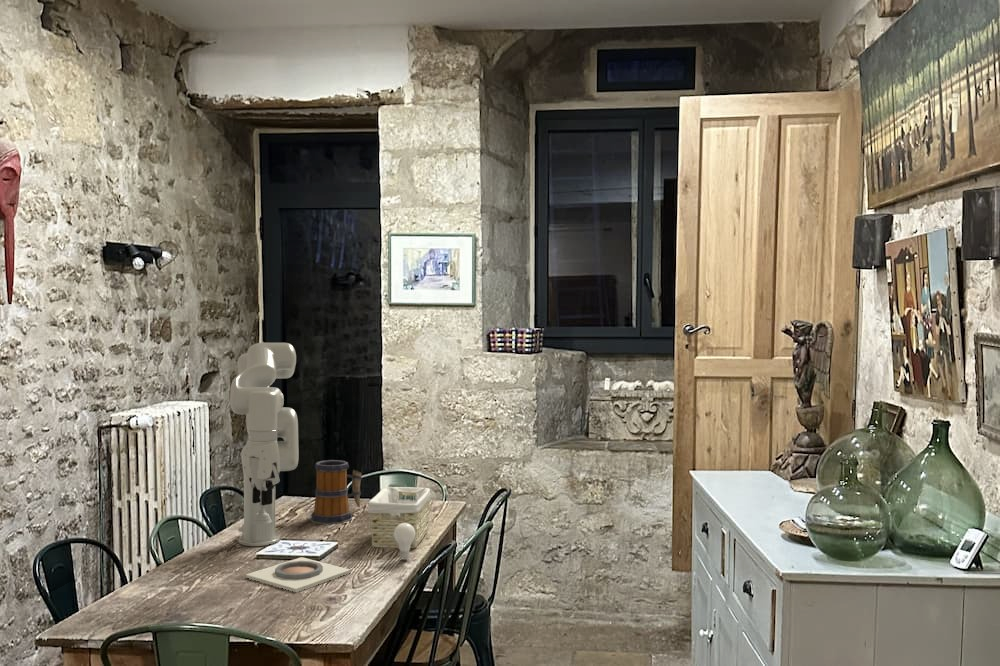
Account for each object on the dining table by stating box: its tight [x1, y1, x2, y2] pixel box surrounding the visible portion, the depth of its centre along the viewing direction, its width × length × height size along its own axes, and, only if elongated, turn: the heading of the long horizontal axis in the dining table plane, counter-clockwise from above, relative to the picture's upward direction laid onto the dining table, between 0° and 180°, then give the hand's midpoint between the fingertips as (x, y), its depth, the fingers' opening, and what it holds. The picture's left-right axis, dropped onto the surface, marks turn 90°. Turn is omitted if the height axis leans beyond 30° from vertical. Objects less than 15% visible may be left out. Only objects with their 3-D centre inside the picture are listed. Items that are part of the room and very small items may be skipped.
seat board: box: [245, 556, 352, 593], centre depth 226 cm, size 20×20×2 cm
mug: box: [310, 459, 362, 525], centre depth 291 cm, size 19×14×20 cm
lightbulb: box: [394, 523, 415, 562], centre depth 242 cm, size 6×6×11 cm
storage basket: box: [367, 486, 432, 550], centre depth 264 cm, size 24×16×15 cm
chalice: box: [249, 457, 272, 524], centre depth 223 cm, size 7×7×18 cm
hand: (262, 502), depth 223 cm, fingers closed on chalice, 3 cm apart
